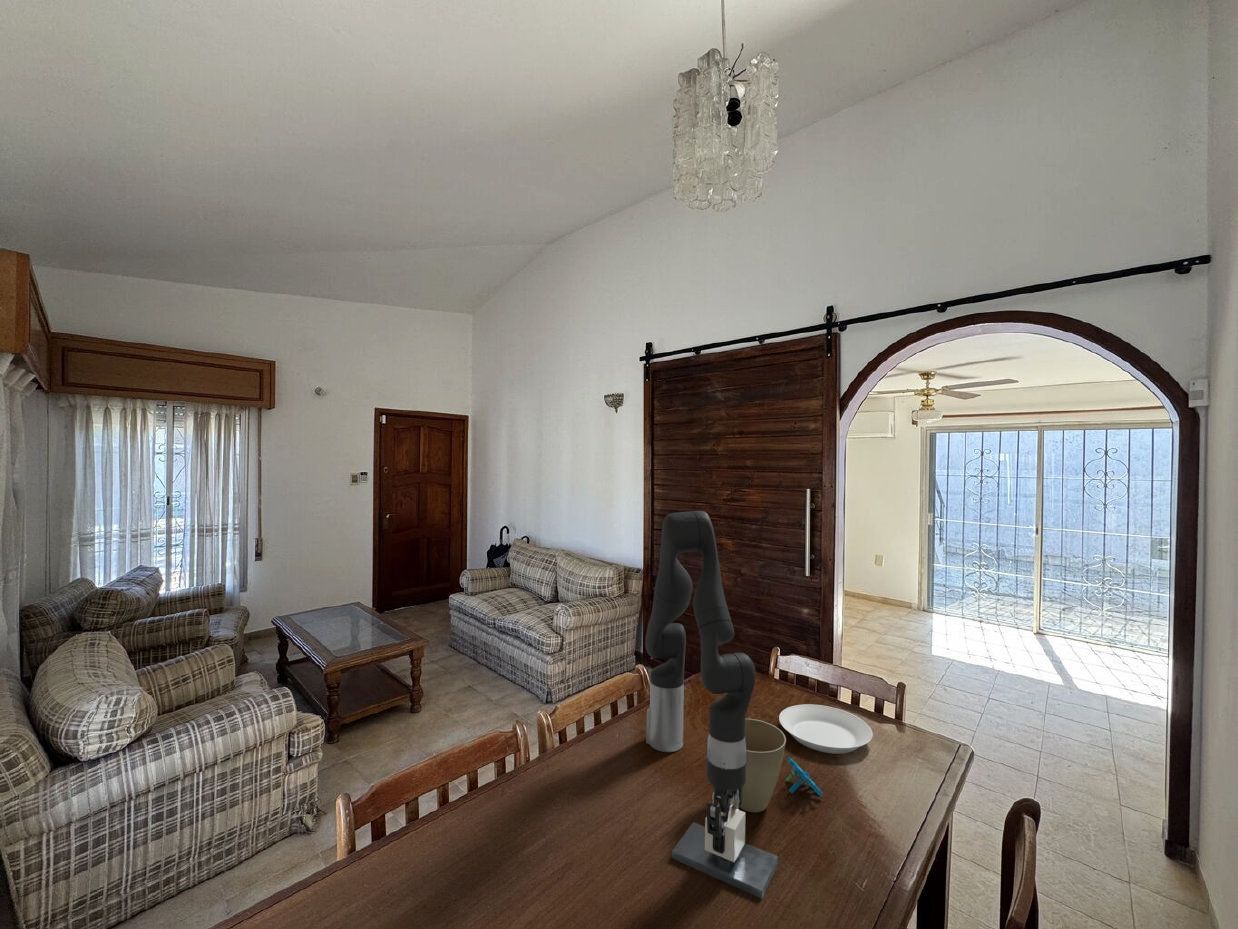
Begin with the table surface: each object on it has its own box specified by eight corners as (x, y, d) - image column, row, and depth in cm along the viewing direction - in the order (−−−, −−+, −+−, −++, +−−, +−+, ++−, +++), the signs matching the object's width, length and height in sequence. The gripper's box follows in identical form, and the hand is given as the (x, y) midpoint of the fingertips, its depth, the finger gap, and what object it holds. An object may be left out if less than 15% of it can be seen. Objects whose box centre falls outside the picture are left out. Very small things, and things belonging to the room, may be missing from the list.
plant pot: (705, 791, 128) (706, 725, 128) (756, 777, 134) (757, 714, 134) (743, 832, 114) (745, 757, 114) (798, 814, 120) (800, 743, 120)
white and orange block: (734, 862, 102) (735, 825, 102) (704, 849, 105) (705, 814, 105) (744, 843, 107) (745, 808, 107) (716, 831, 110) (716, 798, 110)
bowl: (877, 731, 158) (878, 718, 158) (865, 772, 137) (865, 758, 137) (791, 708, 172) (791, 697, 172) (767, 743, 151) (768, 730, 151)
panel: (672, 858, 106) (672, 828, 106) (693, 829, 115) (693, 801, 115) (762, 899, 97) (762, 866, 97) (777, 864, 105) (778, 833, 105)
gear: (831, 799, 123) (799, 766, 124) (813, 819, 123) (781, 785, 123) (813, 777, 134) (784, 747, 135) (797, 795, 134) (768, 764, 134)
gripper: (731, 781, 98) (730, 873, 98) (756, 745, 110) (755, 827, 110) (693, 767, 102) (692, 856, 102) (721, 735, 114) (720, 814, 114)
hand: (724, 840), depth 106 cm, fingers closed on white and orange block, 6 cm apart
